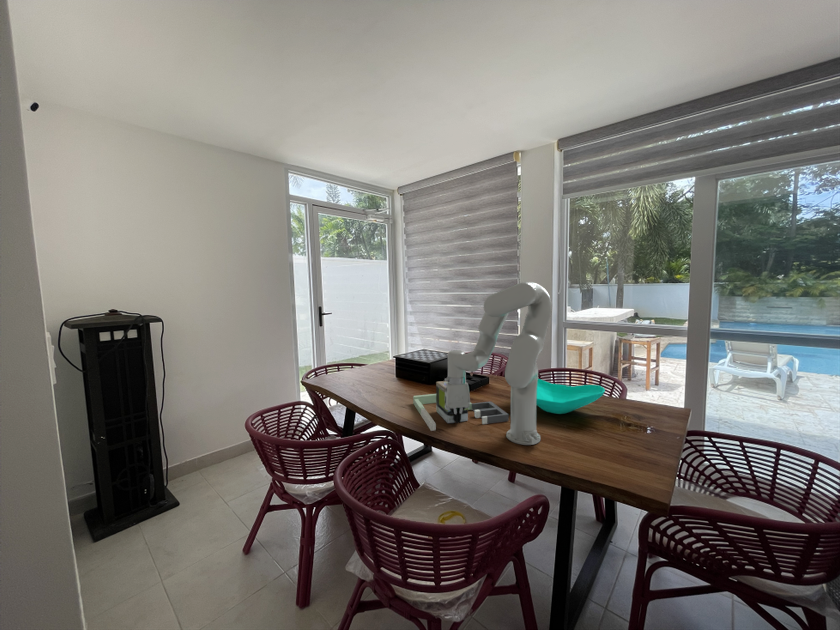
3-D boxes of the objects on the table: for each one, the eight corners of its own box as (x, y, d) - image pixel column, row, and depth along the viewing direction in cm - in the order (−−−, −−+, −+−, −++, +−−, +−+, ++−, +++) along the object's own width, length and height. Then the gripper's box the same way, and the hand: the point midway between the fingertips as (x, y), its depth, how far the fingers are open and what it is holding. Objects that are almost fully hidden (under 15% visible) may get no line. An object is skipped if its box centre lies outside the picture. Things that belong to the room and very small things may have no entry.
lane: (487, 423, 143) (487, 414, 142) (431, 430, 137) (430, 421, 136) (459, 398, 175) (459, 391, 174) (413, 403, 169) (413, 396, 168)
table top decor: (607, 409, 156) (607, 381, 155) (601, 431, 133) (602, 399, 132) (522, 395, 178) (522, 371, 177) (504, 412, 155) (504, 384, 154)
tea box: (468, 421, 146) (468, 388, 145) (447, 424, 143) (446, 390, 142) (455, 409, 160) (455, 378, 159) (435, 411, 158) (435, 381, 156)
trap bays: (508, 421, 145) (508, 414, 145) (487, 423, 143) (487, 416, 143) (491, 407, 162) (491, 401, 161) (471, 409, 159) (471, 403, 159)
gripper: (442, 384, 136) (443, 427, 137) (476, 380, 139) (477, 423, 141) (437, 379, 143) (437, 420, 144) (469, 376, 146) (470, 416, 148)
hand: (457, 421), depth 143 cm, fingers closed
